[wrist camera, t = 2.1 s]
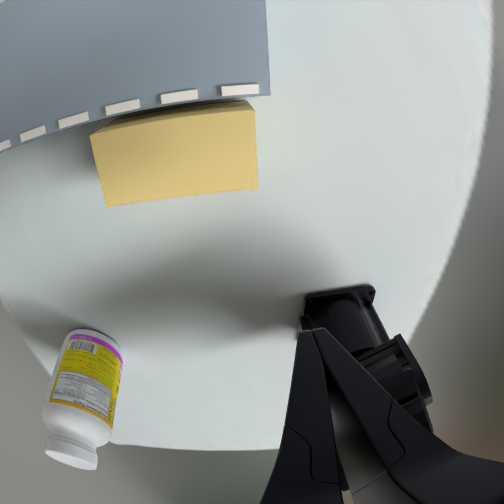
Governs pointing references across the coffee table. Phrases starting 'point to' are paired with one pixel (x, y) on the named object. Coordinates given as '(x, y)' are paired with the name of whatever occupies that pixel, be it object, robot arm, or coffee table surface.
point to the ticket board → (123, 59)
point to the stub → (177, 153)
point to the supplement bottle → (82, 398)
